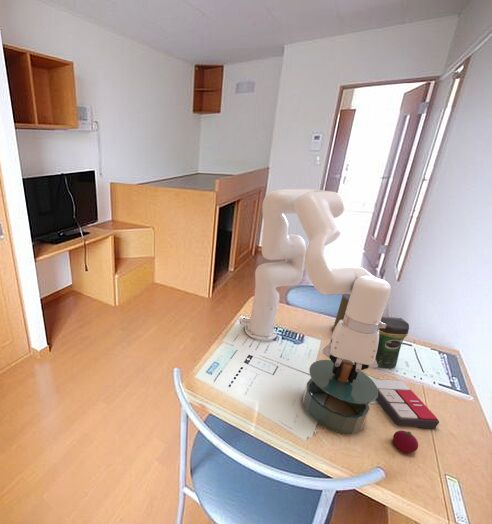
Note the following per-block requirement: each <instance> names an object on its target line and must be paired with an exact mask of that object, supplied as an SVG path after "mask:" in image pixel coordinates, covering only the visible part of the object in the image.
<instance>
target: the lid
mask: <svg viewBox="0 0 492 524" xmlns="http://www.w3.org/2000/svg"><path fill="white" fill-rule="evenodd" d="M353 365H354V362H353V361H349V360H345V359H342V362H341V371H340V374H339V377H338V379H335V376H334V374H333V373H332V369H333V366H334V363H333V362H332V361H331V359H320V360H316V361H314V362H313V363H311V364H310V366H309V369H308V373H309V376H310V379H311V378H312V380H313V381H314V383H315V384H316V385H317V386H318V387H319V388H321V389H322V390H323V391H325V392H326V394H328V395H330V396H331V397H333V398H336V399H338V400H340V401H343V402H346V403H347V402H350V403H355V404H367V403H368V404H371V403H373V402H375V401H376V398H377V396H378V389H377V386H376V385H375V383H374V382H373V381H372V380H371V379H372V378H371V377H369V375H368V374H366V373H365V372H364V371H363V370H361V372H359V373H358V375H357V377H356V380H353V383H350V382H349V377H350V374H351V371H352V368H353ZM325 392H324V393H325Z"/></svg>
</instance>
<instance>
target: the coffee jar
mask: <svg viewBox="0 0 492 524" xmlns="http://www.w3.org/2000/svg"><path fill="white" fill-rule="evenodd" d="M381 322H382V323H385V324H386V328H385V329H384V328H380V329H378V330H379V343H378V348H377V353H376V357H375V358H376V361H377V364H378V367H377V368H381V369H394V368H396V366H397V363H398V360H399V355H400V351H401V348H402V344H403V341H404V340H405V338H407V336H408V334H409V330H410V324H409V323H408V322H407V321H406V320H405V319H404V318H402V317H394V316H382V318H381Z"/></svg>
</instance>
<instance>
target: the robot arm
mask: <svg viewBox="0 0 492 524" xmlns="http://www.w3.org/2000/svg"><path fill="white" fill-rule="evenodd" d="M261 208H262V209H261V212H262V213H261V214H262V219H263V228H262V240H261V255H262V257H263V258H264V259H266V260H269V261H275V262H265V263H262V264H259V265H258V266H257V267H256V269H255V272H254V280H255V282H254V283H255V285H254V295H253V300H252V308H251V312H250V317H249V318H247V319H246V318H243V317H239V318H238V322H239V323H240V325H241V326H243V327H244V332H245V333H246V335H247V336H249V337H250V338H252V339H254V340H259V341H265V342H268V341H272V340H275V339H276V338H277V335H278V332H277V331H276V328H275V324H276V320H277V315H278V311H279V310H278V309H279V304H280V297H281V296H280V293H279V291H277V288H279V287H280V288H281V287H290V286H297V285H298V284H300V283H301V281H302V279H303V275H304V269H305V270H306V273H307V276H308V278H309V280H310V282H311V284H312V286H313V288H314V289H315V290H316V291H317V292H318V293H319V294H322V295H325V296H337V295H342V294H351V295H350V298H349V302H348V305H347V308H346V312H345V315H344V319H343V320H339V322H338V323H337V325H336V327H335V329H334V332H333V331H332V334H331V337H330V339H329V341H328V344H327V345H326V346H325V347H324V348H322V355H324V356H326V357H327V358H329V360H331V361H332V362H333V363H334V366H333V369H332V373H333V374H334V376H335V379H338V377H339V374H340V371H341V362H342V360H343V359H345V360H349V361H352V362H353V364H354V365H353V368H352V371H351V374H350V377H349V382H350V383H353V380H356V377H357V375H358V373H359V372H361V371H364V370H367V369H373V368H379V367H378V364H377V361H376V358H375V357H376V353H377V348H378V343H379V330H378V329H380V328H384V329H385V328H386V324H385V323H382V322H381V318H382V317H383V315H384V312H385V309H386V307H387V303H388V301H389V298H390V295H391V291H392V287H391V285H390V283H389V282H388V281H386V280H384V279H382V278H379V277H376V276H375V275H373V274H371V272H369V271H368V270H367V269H365V268H363V267H361V266H357V265H350V266H349V265H348V266H347V265H346V266H331V267H330V266H329V265H328V263H327V261H326V259H325V256H324V247H326V246H328V245H330V244H332V243H333V242H335V241H336V240H337V239H338V238H339V237H340V236H341V233H342V232H341V228H340V226H339V225H338V223H337V221H336V218H339V217H340V216H342V215H343V213H344V211H345V209H346V203H345V199H344V198H343V196H342V195H341V194H340V193H338V192H337V191H330V190H322V189H316V188H281V189H275V190H272V191H270V192H267V194H266V195H265V196H264V198H263V200H262V204H261ZM286 214H288V215H289V214H290V215H291V214H293V215H294V214H296V216H297V218H298V221H299V222H300V224H301V227H302V229H303V231H304V233H305V235H306V238H307V239H308V245H306V242H305V239H304V238H303V237H302V236H301V235H299V234H294V233H290V234H288V233H289V221H288V220H287V216H285V215H286ZM280 260H285V261H280Z"/></svg>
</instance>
